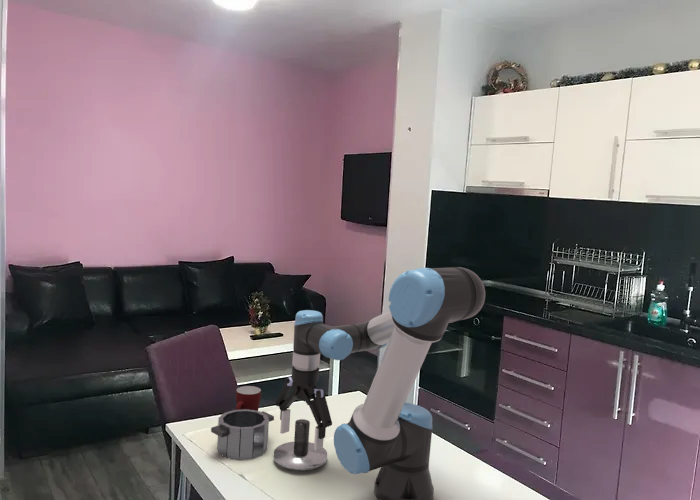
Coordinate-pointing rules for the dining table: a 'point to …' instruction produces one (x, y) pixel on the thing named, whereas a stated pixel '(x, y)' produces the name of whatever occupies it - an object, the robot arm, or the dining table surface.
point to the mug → (248, 398)
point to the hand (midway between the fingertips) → (301, 440)
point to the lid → (300, 450)
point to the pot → (242, 434)
